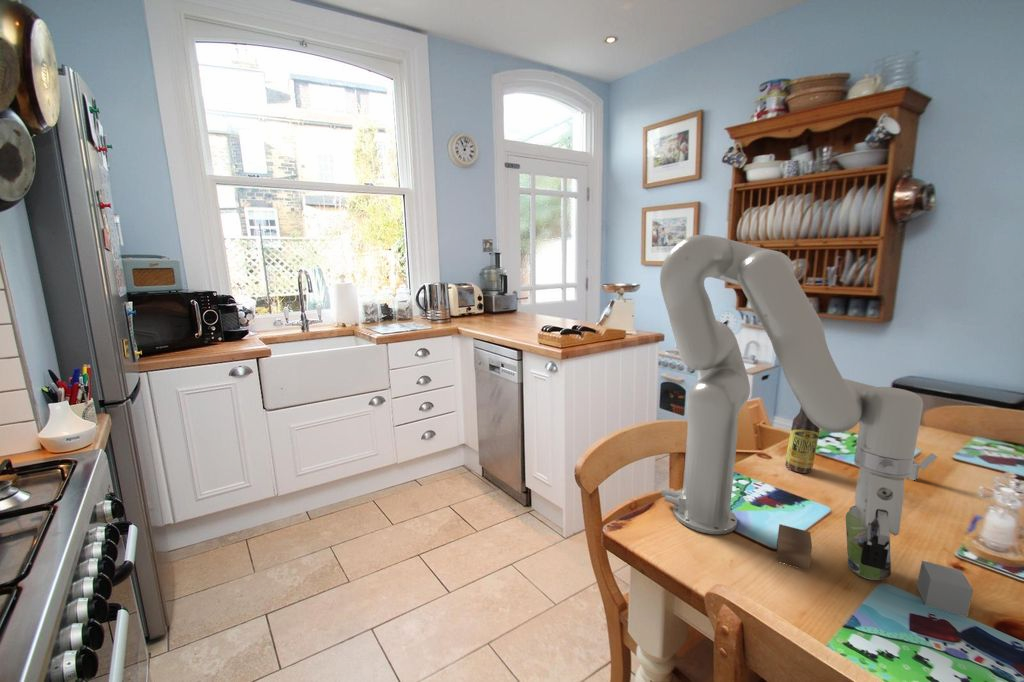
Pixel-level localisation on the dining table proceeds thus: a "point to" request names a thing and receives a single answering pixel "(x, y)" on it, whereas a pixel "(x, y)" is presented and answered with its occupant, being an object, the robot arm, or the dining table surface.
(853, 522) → the beverage can
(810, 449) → the sauce bottle
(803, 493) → the dining table surface
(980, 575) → the dining table surface
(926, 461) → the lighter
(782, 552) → the walnut block
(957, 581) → the slate grey block
